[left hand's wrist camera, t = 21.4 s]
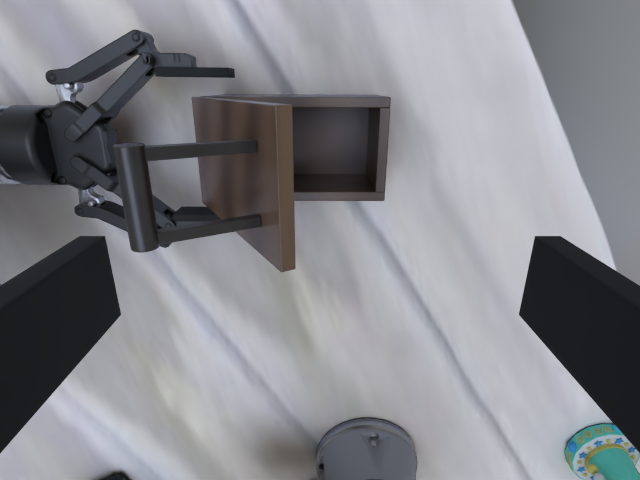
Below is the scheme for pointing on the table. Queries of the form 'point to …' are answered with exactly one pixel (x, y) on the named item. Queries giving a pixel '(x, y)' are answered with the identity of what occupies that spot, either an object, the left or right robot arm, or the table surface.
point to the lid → (223, 178)
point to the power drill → (116, 477)
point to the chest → (336, 144)
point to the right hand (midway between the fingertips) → (236, 148)
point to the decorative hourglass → (602, 454)
